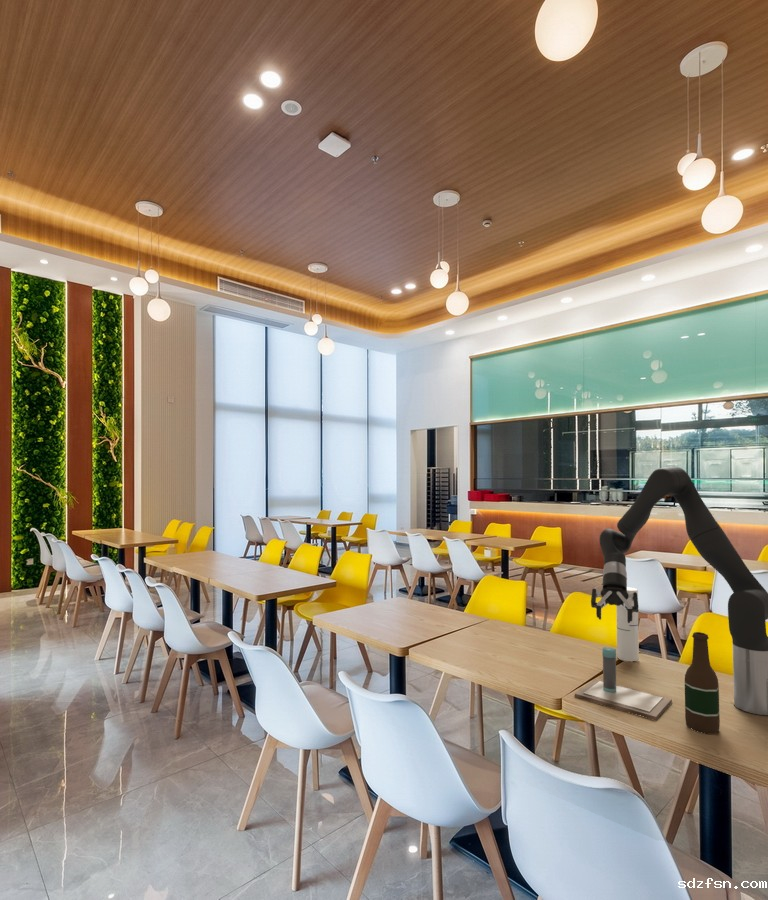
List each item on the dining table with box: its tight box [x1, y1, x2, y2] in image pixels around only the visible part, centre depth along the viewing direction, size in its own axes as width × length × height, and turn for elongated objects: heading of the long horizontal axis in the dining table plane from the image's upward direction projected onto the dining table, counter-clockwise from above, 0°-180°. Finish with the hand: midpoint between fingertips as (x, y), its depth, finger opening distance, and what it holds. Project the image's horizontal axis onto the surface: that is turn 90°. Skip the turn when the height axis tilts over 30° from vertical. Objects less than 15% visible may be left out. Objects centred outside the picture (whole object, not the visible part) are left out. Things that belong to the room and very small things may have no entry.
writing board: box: [574, 678, 673, 721], centre depth 152 cm, size 22×16×1 cm
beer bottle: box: [684, 631, 721, 735], centre depth 136 cm, size 8×8×24 cm
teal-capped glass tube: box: [601, 646, 617, 693], centre depth 156 cm, size 4×4×12 cm
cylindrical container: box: [615, 586, 640, 662], centre depth 190 cm, size 7×7×25 cm
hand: (614, 619), depth 168 cm, fingers open, 8 cm apart
